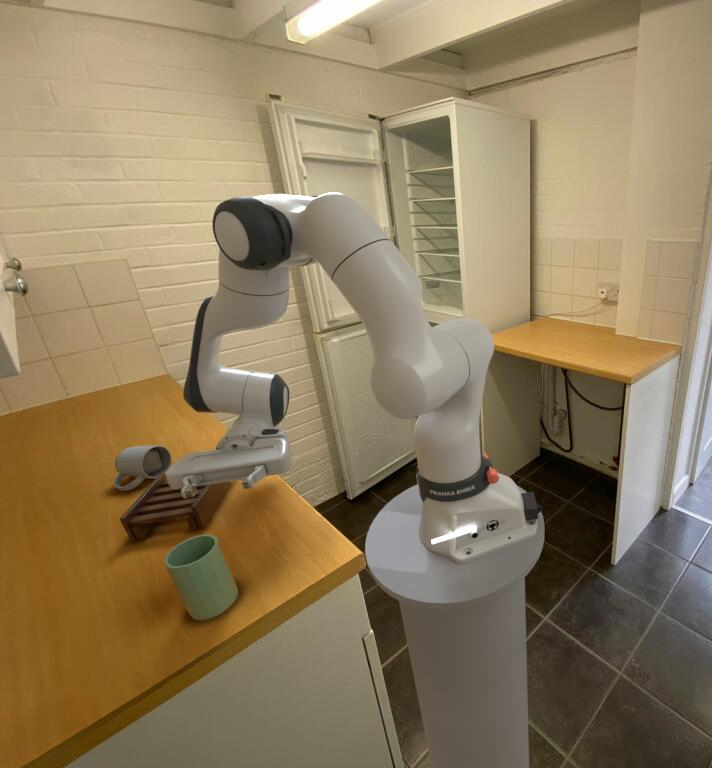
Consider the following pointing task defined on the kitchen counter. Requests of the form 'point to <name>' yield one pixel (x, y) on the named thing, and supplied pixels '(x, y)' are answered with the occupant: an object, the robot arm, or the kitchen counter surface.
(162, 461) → the ceramic mug
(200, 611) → the tumbler
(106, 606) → the kitchen counter surface
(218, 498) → the rack
